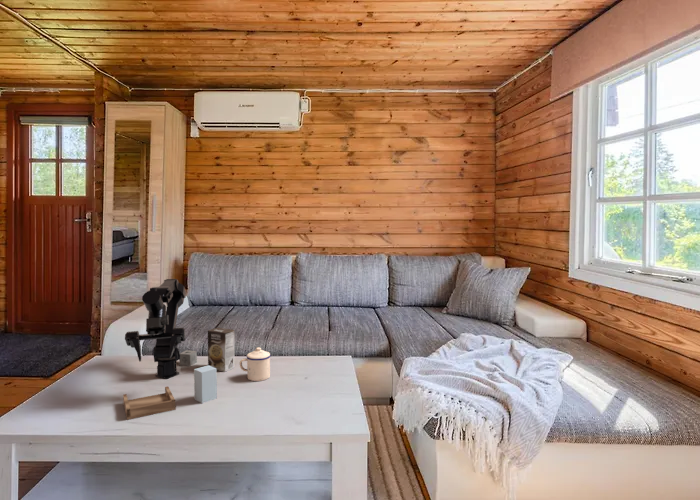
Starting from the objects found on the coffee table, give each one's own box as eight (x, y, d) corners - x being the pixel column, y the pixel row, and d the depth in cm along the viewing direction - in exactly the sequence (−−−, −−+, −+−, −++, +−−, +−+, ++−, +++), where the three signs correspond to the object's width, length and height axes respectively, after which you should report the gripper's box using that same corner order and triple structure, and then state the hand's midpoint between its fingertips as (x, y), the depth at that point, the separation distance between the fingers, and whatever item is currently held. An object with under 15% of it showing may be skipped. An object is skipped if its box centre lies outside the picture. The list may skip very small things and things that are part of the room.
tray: (123, 403, 144) (123, 394, 143) (168, 394, 151) (168, 386, 151) (127, 419, 132) (126, 410, 132) (175, 409, 139) (175, 400, 139)
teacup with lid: (272, 373, 173) (272, 344, 172) (267, 381, 164) (267, 351, 163) (243, 372, 173) (242, 344, 172) (236, 381, 164) (236, 351, 163)
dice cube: (186, 361, 187) (186, 350, 186) (196, 362, 186) (196, 351, 185) (179, 365, 182) (179, 353, 182) (190, 366, 181) (190, 354, 181)
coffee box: (207, 369, 177) (206, 330, 176) (217, 364, 183) (217, 326, 182) (225, 372, 174) (224, 332, 173) (235, 367, 180) (234, 329, 179)
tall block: (194, 399, 147) (194, 369, 147) (209, 394, 151) (208, 365, 151) (202, 403, 144) (201, 372, 143) (217, 398, 148) (216, 368, 147)
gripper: (124, 309, 145) (119, 352, 136) (183, 305, 150) (183, 346, 142) (129, 324, 153) (125, 366, 144) (185, 320, 159) (185, 360, 150)
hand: (155, 359), depth 145 cm, fingers open, 9 cm apart
